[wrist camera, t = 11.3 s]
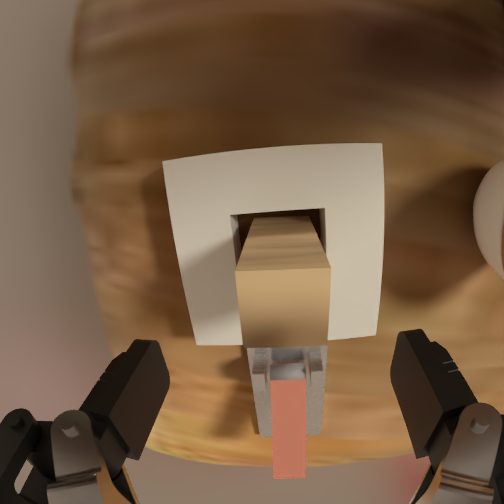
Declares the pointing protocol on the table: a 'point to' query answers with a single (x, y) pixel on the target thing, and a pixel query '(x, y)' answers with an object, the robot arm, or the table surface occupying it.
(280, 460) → the latch lever
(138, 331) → the table surface
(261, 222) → the peg
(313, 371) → the lever bracket
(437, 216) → the table surface
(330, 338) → the socket block
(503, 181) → the lidded jar
